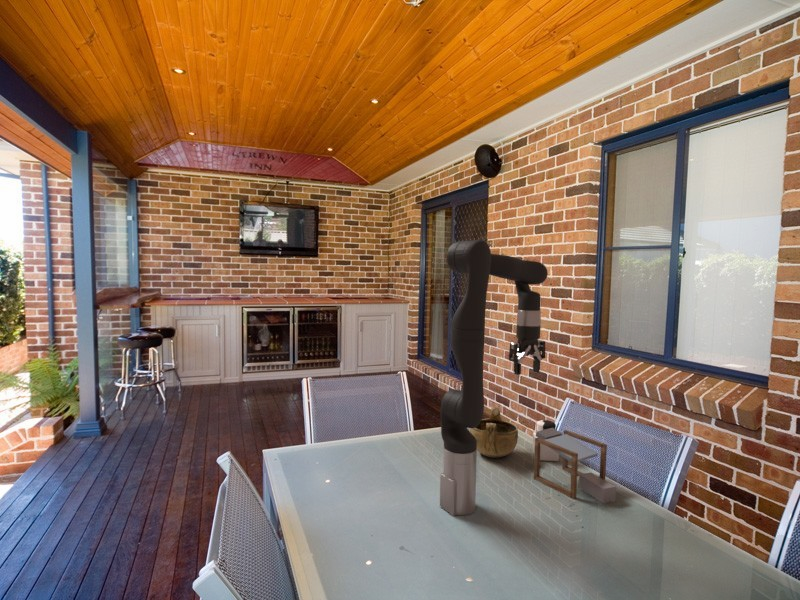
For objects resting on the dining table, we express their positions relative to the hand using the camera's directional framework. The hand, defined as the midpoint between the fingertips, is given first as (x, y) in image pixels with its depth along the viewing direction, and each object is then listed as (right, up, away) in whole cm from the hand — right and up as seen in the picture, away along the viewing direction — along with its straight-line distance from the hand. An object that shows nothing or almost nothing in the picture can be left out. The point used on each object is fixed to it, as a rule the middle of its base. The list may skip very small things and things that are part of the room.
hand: (526, 373), depth 148 cm
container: (+11, -33, +17) cm, 39 cm away
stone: (+16, -33, -6) cm, 37 cm away
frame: (+12, -34, -4) cm, 37 cm away
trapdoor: (+11, -23, -2) cm, 26 cm away
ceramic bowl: (-7, -33, +18) cm, 38 cm away
